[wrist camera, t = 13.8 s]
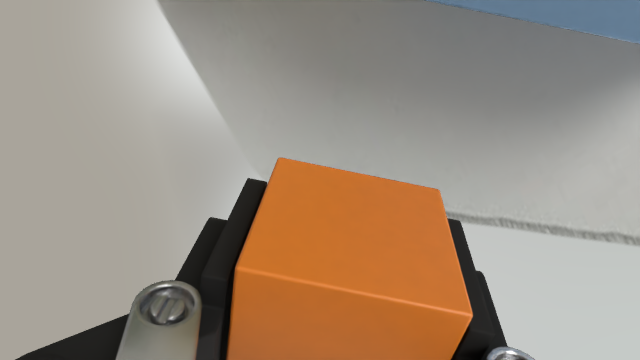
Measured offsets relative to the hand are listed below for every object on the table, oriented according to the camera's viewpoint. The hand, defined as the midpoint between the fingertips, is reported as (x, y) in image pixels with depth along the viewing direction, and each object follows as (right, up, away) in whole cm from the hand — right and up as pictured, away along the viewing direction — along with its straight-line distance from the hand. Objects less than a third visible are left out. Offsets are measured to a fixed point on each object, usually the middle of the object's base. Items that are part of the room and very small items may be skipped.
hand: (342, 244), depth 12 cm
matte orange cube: (0, 0, 0) cm, 0 cm away
